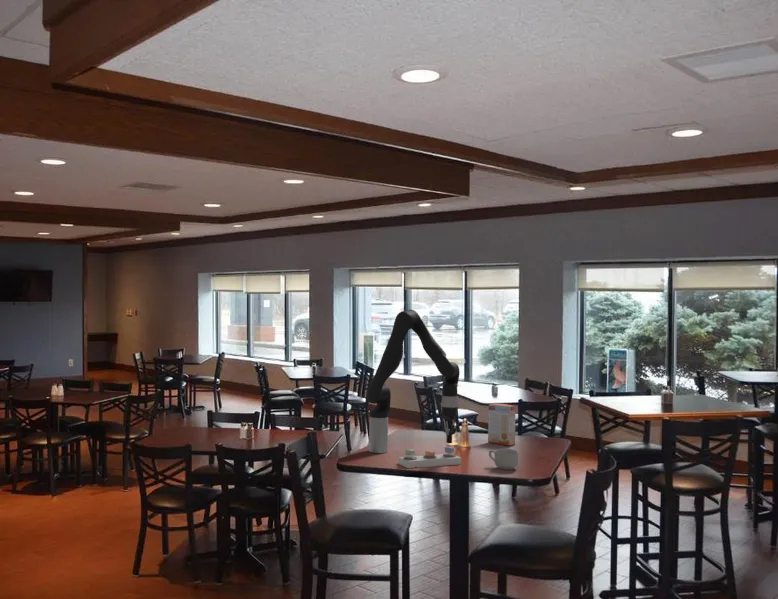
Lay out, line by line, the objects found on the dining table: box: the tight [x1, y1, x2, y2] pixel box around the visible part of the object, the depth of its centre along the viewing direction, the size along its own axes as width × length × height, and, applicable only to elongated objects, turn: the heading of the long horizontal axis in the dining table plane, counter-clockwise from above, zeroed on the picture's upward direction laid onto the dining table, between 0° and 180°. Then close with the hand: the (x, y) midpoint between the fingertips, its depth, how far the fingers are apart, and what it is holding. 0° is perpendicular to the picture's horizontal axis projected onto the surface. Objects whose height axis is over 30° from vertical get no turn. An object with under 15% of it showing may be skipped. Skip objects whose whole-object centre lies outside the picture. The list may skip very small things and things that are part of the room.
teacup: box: [488, 448, 519, 471], centre depth 338 cm, size 14×11×8 cm
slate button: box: [444, 446, 455, 454], centre depth 348 cm, size 4×4×2 cm
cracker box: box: [487, 402, 517, 447], centre depth 399 cm, size 14×6×21 cm, turn 44°
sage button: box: [404, 448, 416, 456], centre depth 340 cm, size 4×4×2 cm
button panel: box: [398, 453, 462, 469], centre depth 344 cm, size 10×27×4 cm, turn 112°
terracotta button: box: [424, 450, 436, 457], centre depth 344 cm, size 4×4×2 cm
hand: (449, 442), depth 348 cm, fingers closed
